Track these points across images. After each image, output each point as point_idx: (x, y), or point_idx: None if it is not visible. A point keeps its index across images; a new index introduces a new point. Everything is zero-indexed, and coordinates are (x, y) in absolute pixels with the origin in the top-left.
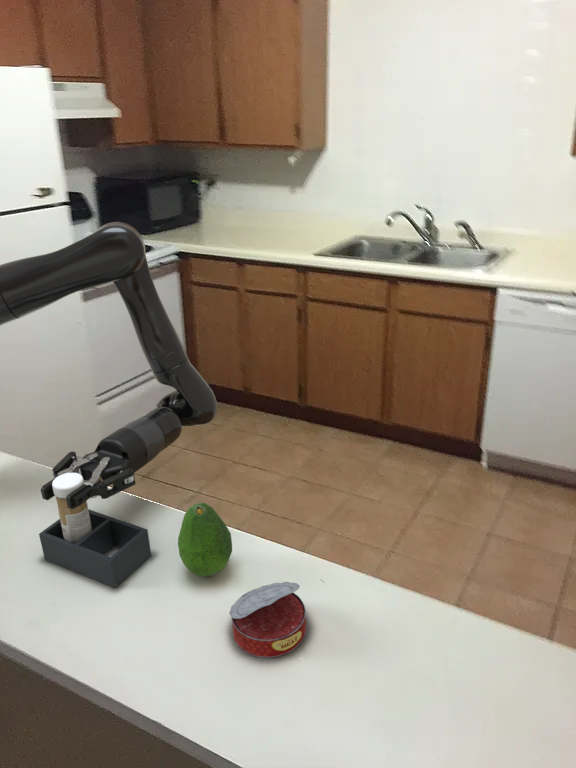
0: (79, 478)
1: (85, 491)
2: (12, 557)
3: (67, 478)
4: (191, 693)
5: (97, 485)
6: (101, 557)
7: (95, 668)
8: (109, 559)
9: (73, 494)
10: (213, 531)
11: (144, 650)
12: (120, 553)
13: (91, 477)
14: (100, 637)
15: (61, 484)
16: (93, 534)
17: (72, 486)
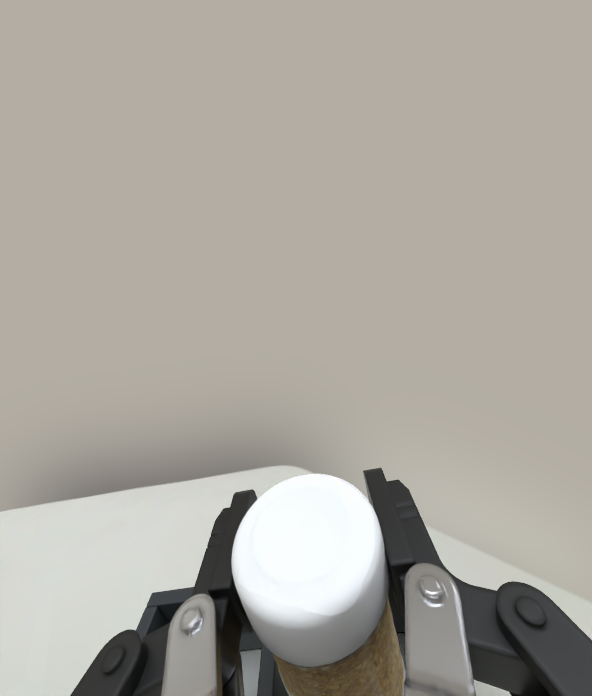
0: (251, 573)
1: (205, 565)
2: (489, 569)
3: (311, 535)
4: (32, 537)
5: (162, 652)
6: (180, 589)
7: (161, 497)
8: (156, 596)
9: (231, 506)
10: None
11: (97, 551)
12: None
13: (214, 676)
14: (171, 530)
15: (297, 491)
16: (259, 677)
17: (247, 512)
